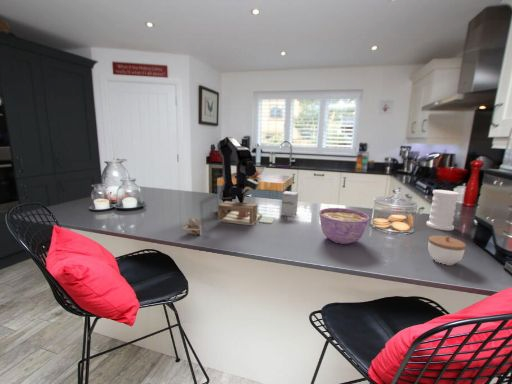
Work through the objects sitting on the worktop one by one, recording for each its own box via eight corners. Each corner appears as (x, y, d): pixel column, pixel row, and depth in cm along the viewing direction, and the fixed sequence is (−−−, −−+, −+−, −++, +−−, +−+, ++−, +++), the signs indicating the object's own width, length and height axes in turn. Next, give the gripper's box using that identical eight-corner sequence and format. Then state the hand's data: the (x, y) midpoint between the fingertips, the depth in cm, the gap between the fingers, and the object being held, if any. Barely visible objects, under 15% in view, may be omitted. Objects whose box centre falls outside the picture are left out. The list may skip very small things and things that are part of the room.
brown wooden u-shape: (225, 214, 136) (225, 201, 134) (256, 218, 131) (257, 204, 130) (218, 219, 127) (218, 205, 126) (251, 223, 123) (251, 208, 121)
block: (241, 216, 140) (241, 203, 139) (248, 217, 139) (248, 204, 138) (238, 218, 137) (238, 205, 135) (245, 219, 136) (246, 206, 134)
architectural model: (199, 237, 111) (198, 221, 109) (183, 236, 111) (183, 220, 110) (201, 234, 114) (201, 218, 112) (186, 233, 115) (185, 217, 113)
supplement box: (280, 215, 144) (281, 193, 142) (284, 212, 151) (285, 190, 148) (293, 217, 142) (295, 194, 139) (297, 213, 148) (298, 192, 146)
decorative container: (459, 230, 127) (466, 194, 124) (437, 230, 126) (443, 194, 123) (441, 222, 139) (447, 189, 135) (421, 222, 138) (426, 189, 134)
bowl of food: (313, 231, 121) (314, 207, 118) (356, 232, 120) (359, 208, 118) (322, 249, 101) (324, 220, 99) (374, 251, 101) (378, 222, 98)
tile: (263, 217, 140) (263, 216, 139) (275, 218, 138) (275, 217, 138) (258, 222, 131) (258, 221, 131) (271, 223, 129) (271, 222, 129)
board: (232, 213, 145) (232, 210, 145) (261, 216, 141) (261, 213, 141) (220, 221, 131) (220, 218, 131) (253, 225, 126) (253, 222, 126)
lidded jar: (429, 264, 91) (434, 239, 89) (422, 252, 101) (426, 229, 99) (466, 271, 87) (472, 244, 85) (455, 257, 97) (460, 234, 95)
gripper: (252, 177, 119) (251, 210, 122) (262, 172, 137) (261, 201, 140) (229, 175, 122) (229, 207, 125) (242, 171, 139) (241, 199, 143)
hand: (241, 203), depth 133 cm, fingers closed
